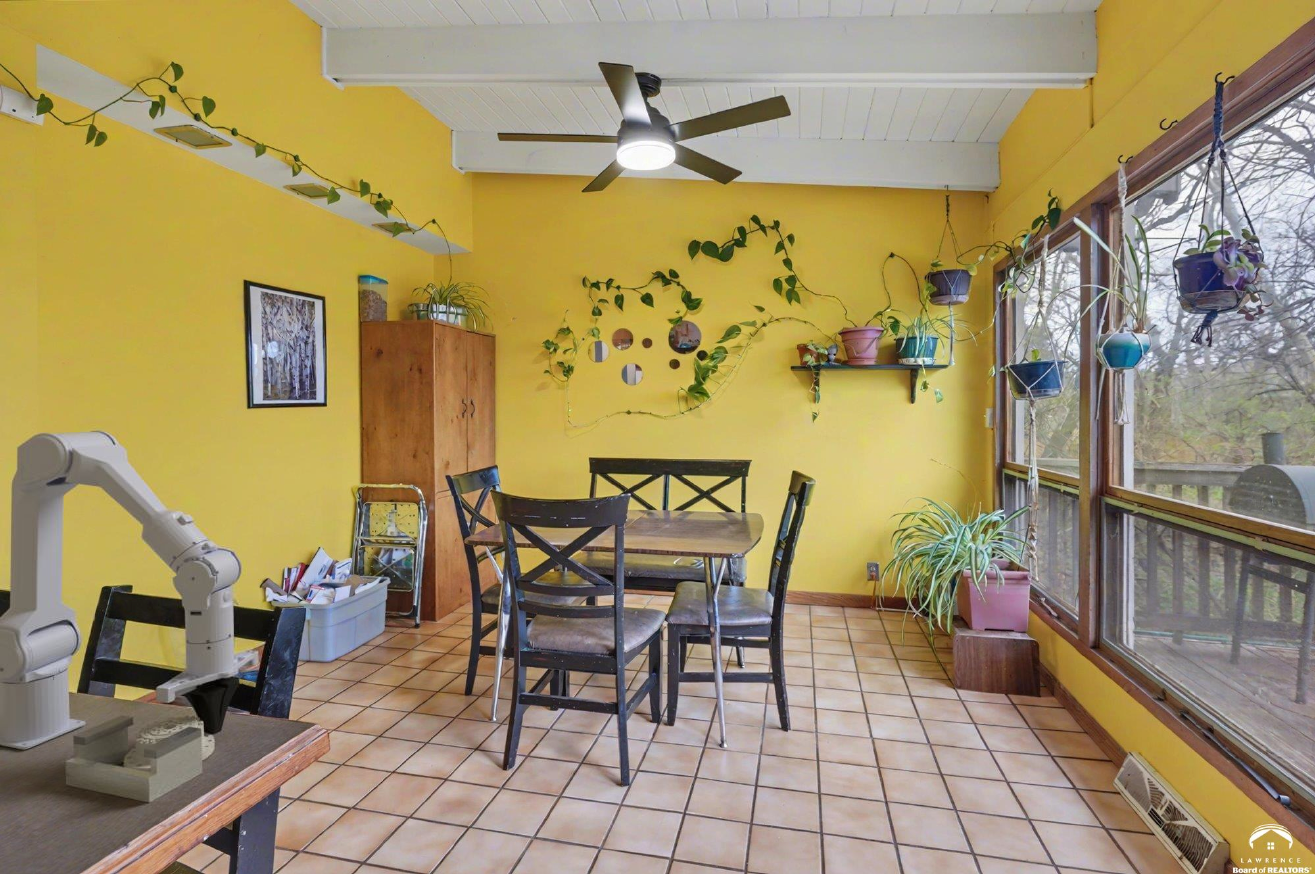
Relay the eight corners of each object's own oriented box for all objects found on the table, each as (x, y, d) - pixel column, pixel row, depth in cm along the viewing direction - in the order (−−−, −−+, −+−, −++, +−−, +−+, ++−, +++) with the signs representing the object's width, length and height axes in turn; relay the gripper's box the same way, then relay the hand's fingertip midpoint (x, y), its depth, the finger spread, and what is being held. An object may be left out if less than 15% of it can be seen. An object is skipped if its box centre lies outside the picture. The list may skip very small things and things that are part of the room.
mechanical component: (104, 773, 90) (167, 783, 87) (102, 740, 89) (166, 749, 87) (173, 737, 99) (232, 745, 97) (172, 707, 99) (231, 714, 97)
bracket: (66, 785, 86) (64, 739, 86) (122, 757, 93) (121, 715, 93) (149, 802, 83) (148, 755, 83) (202, 772, 90) (201, 728, 89)
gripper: (184, 658, 90) (187, 761, 91) (274, 624, 104) (276, 713, 104) (142, 652, 92) (145, 753, 92) (236, 620, 106) (238, 707, 106)
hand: (212, 731), depth 99 cm, fingers closed
